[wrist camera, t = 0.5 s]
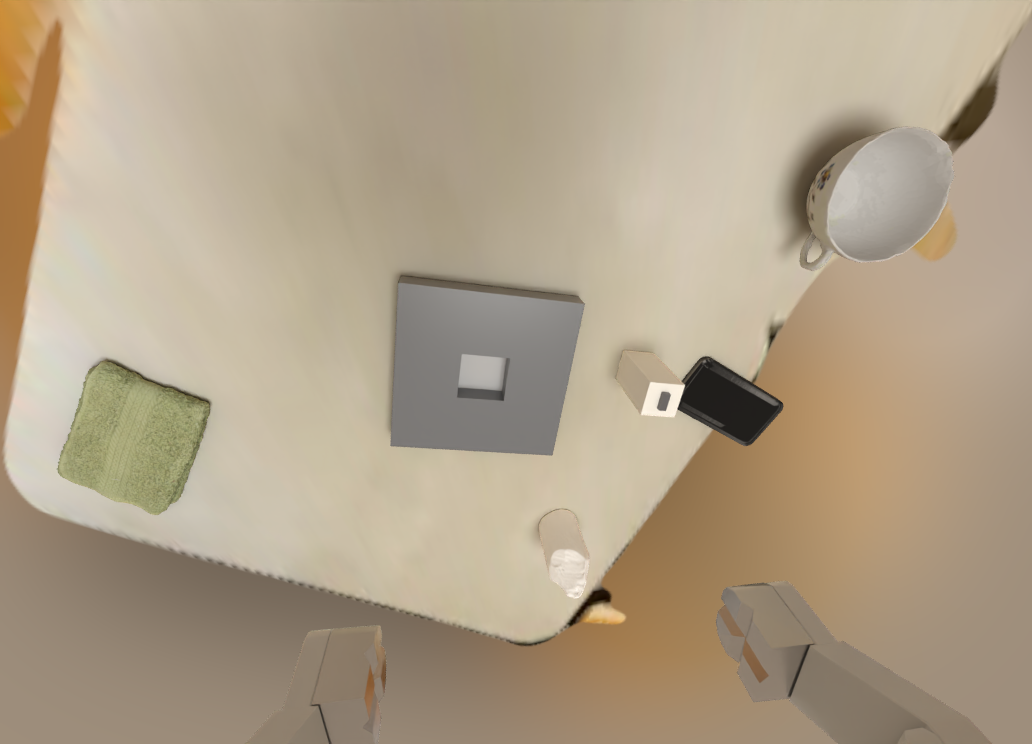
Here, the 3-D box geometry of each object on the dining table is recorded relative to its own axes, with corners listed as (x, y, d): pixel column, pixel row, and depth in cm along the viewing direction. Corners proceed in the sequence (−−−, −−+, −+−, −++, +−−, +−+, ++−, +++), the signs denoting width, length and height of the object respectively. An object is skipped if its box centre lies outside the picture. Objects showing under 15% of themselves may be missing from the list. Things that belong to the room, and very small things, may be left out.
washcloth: (61, 469, 57) (40, 486, 54) (100, 351, 51) (79, 363, 49) (178, 507, 61) (164, 525, 58) (225, 401, 56) (212, 415, 53)
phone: (706, 355, 59) (786, 405, 64) (702, 352, 60) (781, 401, 65) (667, 404, 61) (747, 449, 66) (664, 400, 63) (743, 444, 67)
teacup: (843, 102, 49) (909, 94, 42) (908, 176, 53) (979, 180, 46) (741, 227, 53) (785, 239, 46) (809, 286, 57) (859, 306, 50)
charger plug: (623, 349, 58) (652, 384, 50) (653, 352, 59) (687, 387, 50) (615, 379, 60) (642, 417, 51) (645, 381, 60) (676, 420, 52)
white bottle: (581, 569, 57) (609, 590, 59) (560, 502, 67) (585, 522, 69) (544, 597, 58) (573, 617, 60) (530, 527, 69) (555, 545, 71)
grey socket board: (401, 275, 51) (398, 282, 49) (578, 296, 55) (584, 304, 52) (393, 432, 59) (390, 446, 57) (548, 442, 63) (552, 455, 60)
